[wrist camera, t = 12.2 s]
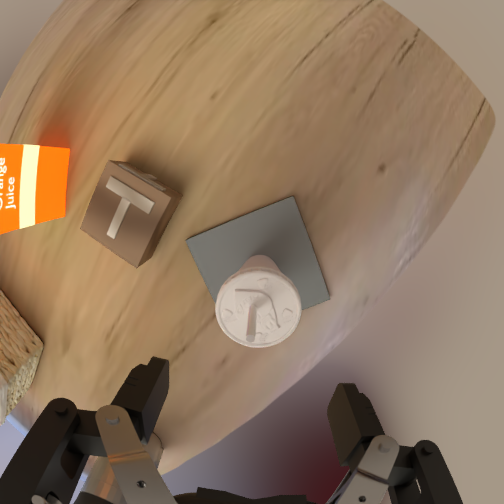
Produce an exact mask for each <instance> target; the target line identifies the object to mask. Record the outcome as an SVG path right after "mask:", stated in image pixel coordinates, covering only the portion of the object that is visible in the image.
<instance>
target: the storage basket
mask: <svg viewBox="0 0 504 504" xmlns="http://www.w3.org/2000/svg"><path fill="white" fill-rule="evenodd" d="M42 349H44V348H43V343H42V342H41V340H40V338H39V337H38V336H37V335H36V334H35V333H34V331H33V330H32V329H31V328H30V327H29V326H28V324H27V323H26V321H25V320H24V319H23V318H22V317H20V314H19V313H18V311H17V310H16V309H15V308H14V307H13V306H12V304H11V303H10V301H9V300H8V299H7V298H6V297H5V295H4V293H3V292H2V291H1V290H0V426H1V425H2V424H3V423H4V422H5V418H6V416H7V415H8V414H9V413H10V412H11V411H12V409H14V408H15V406H16V404H17V403H18V402H19V401H20V399H21V397H23V396H24V395H25V394H26V392H27V391H28V389H29V388H30V385H31V383H32V381H33V379H34V376H35V372H36V369H37V365H38V363H39V358H40V356H41V353H42Z"/></svg>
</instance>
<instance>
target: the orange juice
mask: <svg viewBox="0 0 504 504" xmlns="http://www.w3.org/2000/svg"><path fill="white" fill-rule="evenodd" d="M69 153H70V149H67V148H57V147H46V146H39V145H16V144H0V234H2V233H6V232H9V231H12V230H16V229H21V228H24V227H28V226H32V225H35V224H37V223H41V222H45V221H49V220H53V219H57V218H61V217H65V200H66V183H67V171H68V162H69Z"/></svg>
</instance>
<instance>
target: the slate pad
mask: <svg viewBox="0 0 504 504" xmlns="http://www.w3.org/2000/svg"><path fill="white" fill-rule="evenodd" d="M185 241H186V243H187V245H188V247H189V249H190V252H191V254H192V256H193V258H194V260H195V262H196V265H197V267H198V269H199V271H200V273H201V275H202V277H203V279H204V281H205V283H206V286H207V288H208V290H209V292H210V294H211V296H212V298H213V300H214V302H215V304H216V301H217V295H218V293H219V291H220V289H221V286H222V285H223V284H224V283H225V281H226V280H227V279H228V278H229V277H230V276H232V275H233V274H235V273H236V272H238V271H239V269H240V268H241V267H242V266H243V264H244V263H245V262H246V261H247V260H248V259H249V258H250V257H252V256H255V255H265V256H267V257H269V258H271V259H272V260H273V261H274V262H275V264H276V265H277V267H278V268H279V270H280V271H281V273H283V274H284V275H285V276H286V277H288V278H289V279H290V280H291V281H292V282H293V284H294V285H295V287H296V288H297V290H298V293H299V296H300V299H301V310H304V309H307V308H309V307H312V306H314V305H317V304H320V303H322V302H325V301H327V300H330V297H329V294H328V291H327V288H326V285H325V282H324V279H323V276H322V273H321V270H320V267H319V264H318V261H317V259H316V256H315V253H314V250H313V247H312V245H311V242H310V239H309V236H308V234H307V231H306V228H305V226H304V223H303V220H302V218H301V215H300V212H299V210H298V207H297V205H296V202H295V200H294V197H293V196H291V197H289V198H286V199H284V200H281V201H278V202H276V203H273V204H271V205H268V206H266V207H263V208H261V209H258V210H256V211H253V212H251V213H248V214H246V215H244V216H241V217H239V218H236V219H234V220H231V221H229V222H227V223H224V224H222V225H219V226H217V227H215V228H212V229H210V230H208V231H205V232H203V233H201V234H198V235H196V236H194V237H191V238H189V239H187V240H185Z"/></svg>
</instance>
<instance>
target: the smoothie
mask: <svg viewBox="0 0 504 504" xmlns="http://www.w3.org/2000/svg"><path fill="white" fill-rule="evenodd" d="M215 310H216V317H217V321H218V323H219V325H220V327H221V329H222V330H223V331H224V333H225V334H226V335H227V336H228V337H230V338H231V339H232V340H234V341H235V342H237V343H239V344H242V345H245V346H248V347H255V348H262V347H269V346H273V345H276V344H278V343H280V342H282V341H283V340H285V339H286V338H288V337H289V336H290V335H291V334H292V333H293V331H294V330H295V329H296V327H297V325H298V323H299V321H300V317H301V299H300V296H299V293H298V290H297V288H296V287H295V285H294V284H293V282H292V281H291V280H290V279H289V278H288V277H286V276H285V275H284V274H283V273H281V271H280V270H279V268H278V267H277V265H276V264H275V262H274V261H273V260H272V259H271V258H269V257H267V256H265V255H255V256H252V257H250V258H249V259H248V260H247V261H246V262H245V263H244V264H243V266H242V267H241V268H240V269H239V271H238V272H236V273H235V274H233V275H232V276H230V277H229V278H228V279H227V280H226V281H225V283H224V284H223V285H222V286H221V289H220V291H219V293H218V295H217V301H216V308H215Z"/></svg>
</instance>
